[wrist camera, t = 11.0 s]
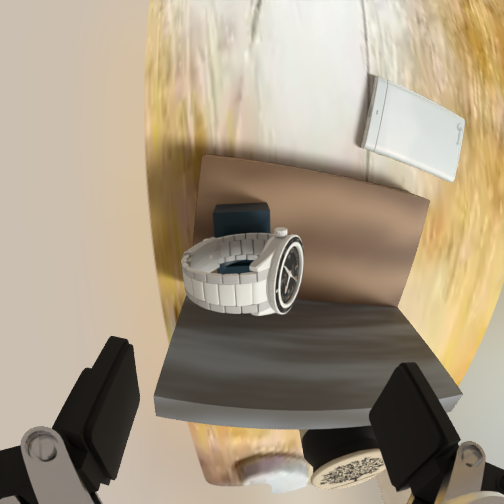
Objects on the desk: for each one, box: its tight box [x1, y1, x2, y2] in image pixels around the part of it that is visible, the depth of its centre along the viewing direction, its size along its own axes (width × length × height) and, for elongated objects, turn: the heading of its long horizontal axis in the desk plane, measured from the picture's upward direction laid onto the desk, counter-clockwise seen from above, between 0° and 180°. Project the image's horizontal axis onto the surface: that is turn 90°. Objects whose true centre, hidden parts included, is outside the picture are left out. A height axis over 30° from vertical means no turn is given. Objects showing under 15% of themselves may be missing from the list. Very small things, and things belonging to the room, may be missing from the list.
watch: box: [181, 202, 304, 316], centre depth 21 cm, size 6×8×11 cm
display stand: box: [154, 155, 463, 429], centre depth 22 cm, size 14×22×18 cm, turn 82°
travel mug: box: [299, 425, 386, 489], centre depth 28 cm, size 8×8×18 cm
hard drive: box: [361, 76, 465, 183], centre depth 26 cm, size 2×8×12 cm
